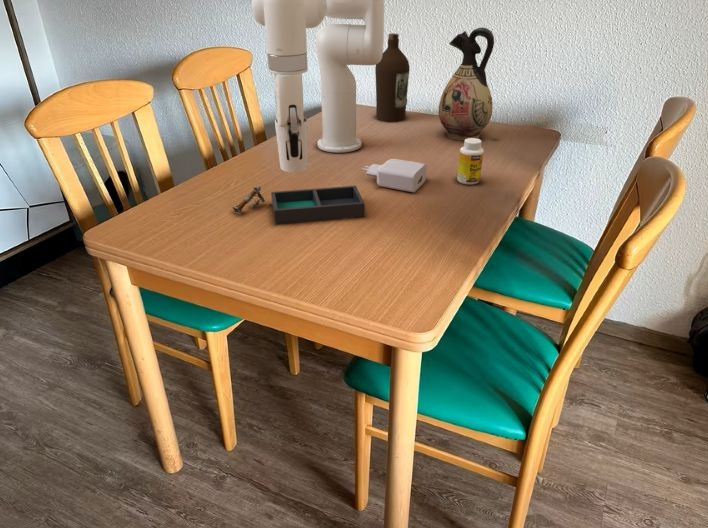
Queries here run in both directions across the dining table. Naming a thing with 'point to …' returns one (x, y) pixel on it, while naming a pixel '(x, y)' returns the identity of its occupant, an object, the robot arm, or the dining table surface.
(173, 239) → the dining table surface
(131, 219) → the dining table surface
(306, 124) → the coffee cup
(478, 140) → the supplement bottle
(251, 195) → the wooden post with brackets
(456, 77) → the ceramic jug
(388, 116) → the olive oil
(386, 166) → the charger
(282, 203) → the grey divided tray
